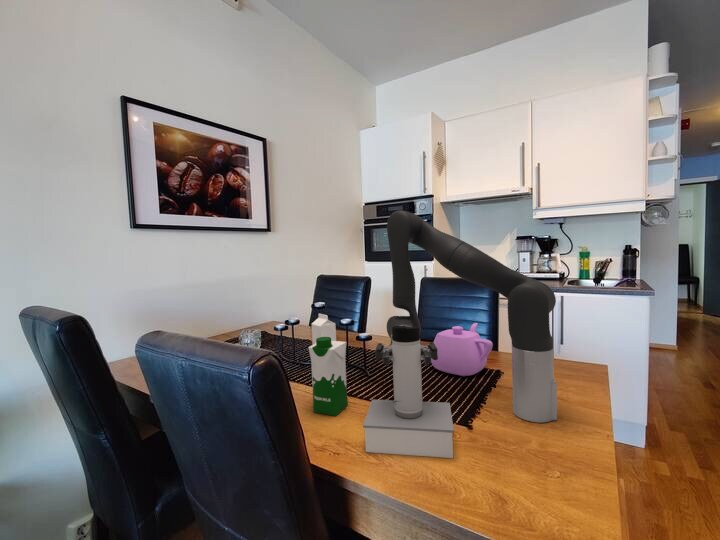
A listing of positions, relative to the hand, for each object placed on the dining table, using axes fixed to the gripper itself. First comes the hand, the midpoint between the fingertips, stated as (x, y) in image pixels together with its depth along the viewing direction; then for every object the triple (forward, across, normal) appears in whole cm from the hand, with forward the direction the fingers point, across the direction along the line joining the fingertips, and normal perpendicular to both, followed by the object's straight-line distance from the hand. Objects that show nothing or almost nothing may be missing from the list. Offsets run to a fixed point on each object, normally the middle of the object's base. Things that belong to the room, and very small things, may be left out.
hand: (407, 361), depth 75 cm
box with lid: (-2, 0, +18) cm, 19 cm away
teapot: (-47, +19, +19) cm, 54 cm away
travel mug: (-2, 0, +13) cm, 13 cm away
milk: (-39, -27, +19) cm, 51 cm away
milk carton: (-17, -21, +19) cm, 33 cm away
